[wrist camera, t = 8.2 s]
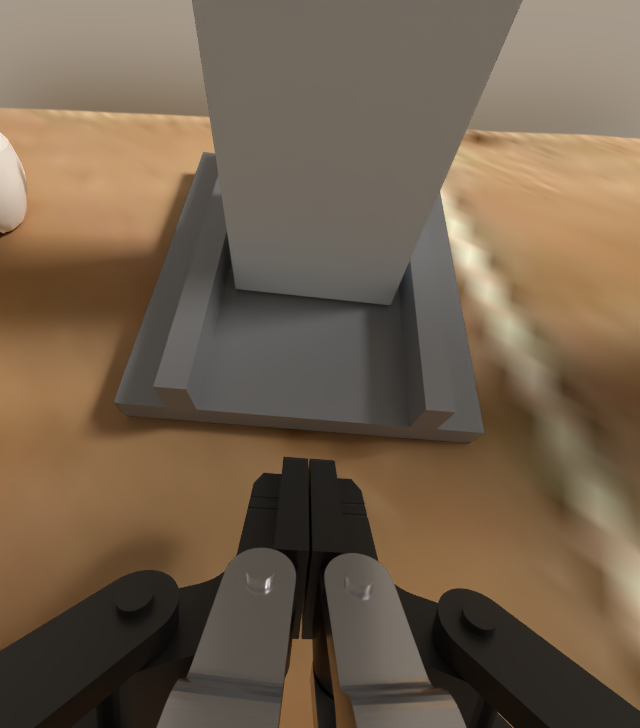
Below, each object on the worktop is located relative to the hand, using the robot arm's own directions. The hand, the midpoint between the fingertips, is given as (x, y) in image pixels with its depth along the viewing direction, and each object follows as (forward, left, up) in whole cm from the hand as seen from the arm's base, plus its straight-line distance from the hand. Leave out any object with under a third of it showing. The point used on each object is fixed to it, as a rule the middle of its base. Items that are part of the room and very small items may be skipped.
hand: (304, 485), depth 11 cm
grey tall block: (0, -12, -3) cm, 13 cm away
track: (0, -12, -5) cm, 13 cm away
